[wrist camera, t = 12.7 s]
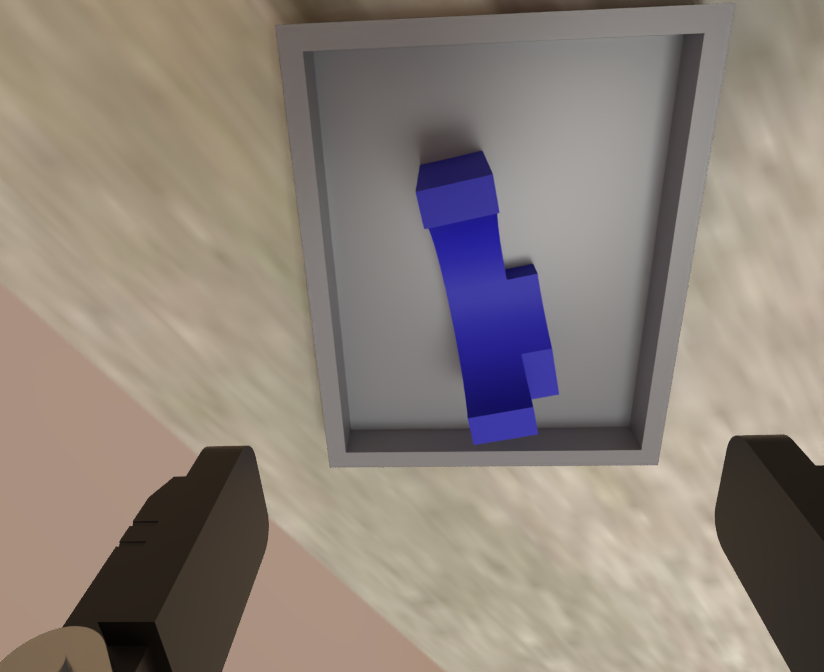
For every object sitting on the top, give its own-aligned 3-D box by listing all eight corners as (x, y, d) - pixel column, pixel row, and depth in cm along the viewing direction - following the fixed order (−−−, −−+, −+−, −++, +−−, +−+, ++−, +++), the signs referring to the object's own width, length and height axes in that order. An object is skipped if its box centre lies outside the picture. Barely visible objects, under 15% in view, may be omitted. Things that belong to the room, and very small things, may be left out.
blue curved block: (549, 366, 33) (571, 428, 27) (467, 380, 33) (473, 445, 28) (514, 143, 28) (532, 165, 22) (419, 165, 28) (415, 192, 23)
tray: (704, 7, 26) (735, 2, 23) (641, 433, 35) (657, 465, 32) (291, 27, 27) (275, 24, 24) (337, 436, 36) (329, 467, 33)
